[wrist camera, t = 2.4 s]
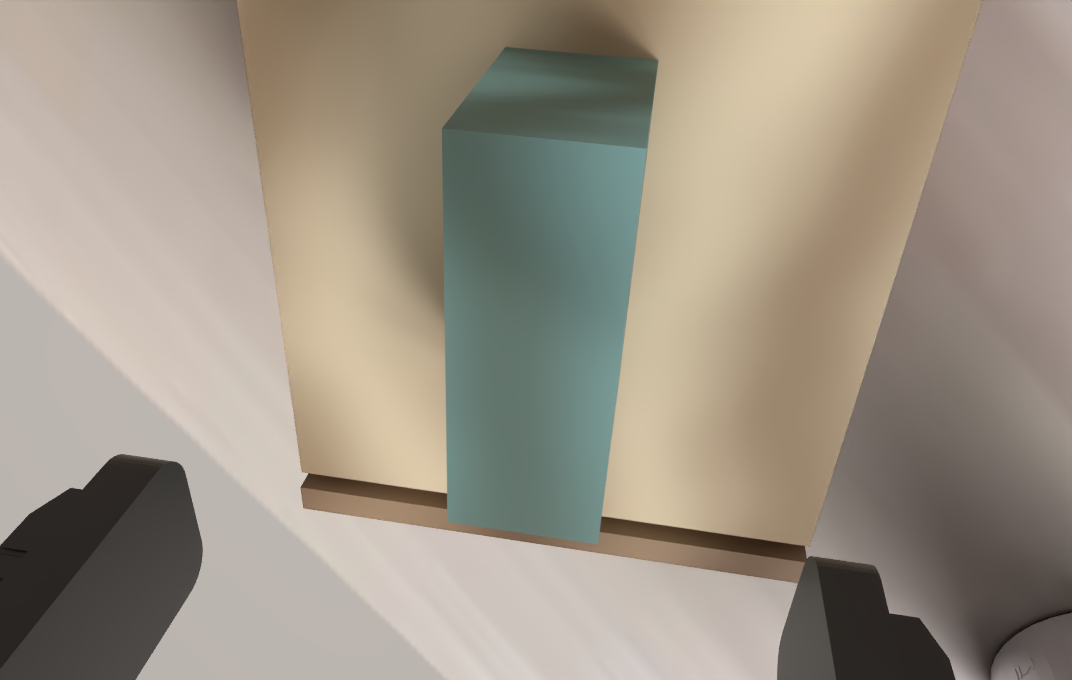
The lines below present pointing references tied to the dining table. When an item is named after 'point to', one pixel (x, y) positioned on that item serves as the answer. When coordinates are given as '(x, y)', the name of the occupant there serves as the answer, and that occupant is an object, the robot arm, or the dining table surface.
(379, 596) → the dining table surface
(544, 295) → the lid
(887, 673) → the robot arm
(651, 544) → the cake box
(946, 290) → the dining table surface
